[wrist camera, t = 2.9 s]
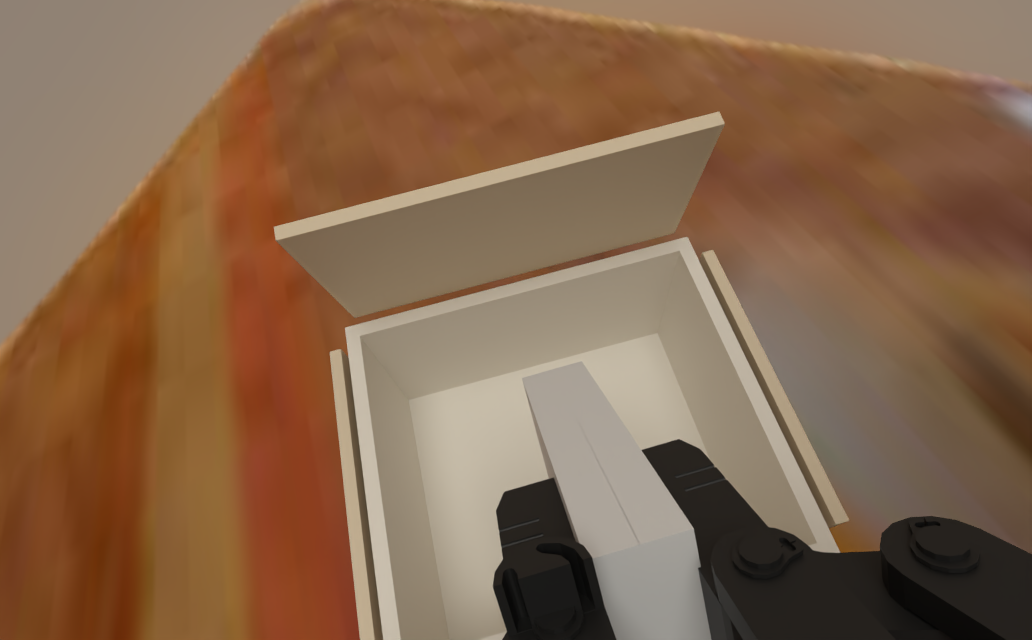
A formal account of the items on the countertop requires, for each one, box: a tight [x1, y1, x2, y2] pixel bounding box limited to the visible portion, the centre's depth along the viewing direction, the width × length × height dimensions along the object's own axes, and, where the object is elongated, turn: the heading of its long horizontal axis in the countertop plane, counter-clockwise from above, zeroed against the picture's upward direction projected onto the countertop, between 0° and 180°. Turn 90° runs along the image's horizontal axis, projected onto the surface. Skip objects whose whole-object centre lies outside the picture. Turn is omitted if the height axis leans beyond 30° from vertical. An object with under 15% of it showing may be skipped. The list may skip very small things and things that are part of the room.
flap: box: [274, 112, 725, 318], centre depth 23 cm, size 15×1×8 cm, turn 104°
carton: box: [330, 237, 849, 640], centre depth 27 cm, size 18×15×9 cm
